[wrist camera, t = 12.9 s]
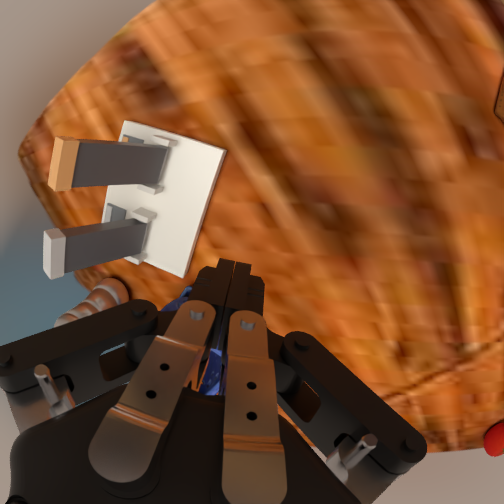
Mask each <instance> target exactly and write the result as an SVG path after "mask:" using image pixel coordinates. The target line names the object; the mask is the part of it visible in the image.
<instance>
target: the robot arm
mask: <svg viewBox="0 0 504 504" xmlns="http://www.w3.org/2000/svg"><path fill="white" fill-rule="evenodd" d="M234 264H235V261H232V260H227V259H222V258H220V259H219V261H218V264H217V267H216V268H214V267H209V266H206V267H204V268H203V269H201V270H200V271H199V274H198V276H197V278H196V280H195V283H194V285H193V287H192V290H191V292H190V294H189V297H188V299H187V301H186V302H185V303H183V304H182V305H181V306H180V308H179V309H177V310H174V311H158V310H157V308H156V306H155V305H154V304H153V303H151V302H149V301H147V300H142V299H136V300H131V301H128V302H125V303H123V304H120V305H117V306H114V307H111V308H108V309H106V310H103V311H100V312H97V313H94V314H91V315H89V316H86V317H83V318H80V319H77V320H74V321H72V322H69V323H66V324H63V325H60V326H57V327H54V328H52V329H49V330H46V331H43V332H40V333H37V334H34V335H32V336H29V337H26V338H23V339H20V340H17V341H14V342H11V343H9V344H6V345H3V346H0V387H1V389H2V390H3V392H4V393H5V395H6V396H7V398H8V402H9V405H10V408H11V411H12V413H13V416H14V419H15V422H16V424H17V427H18V429H19V432H20V435H19V436H18V437H17V439H16V440H15V442H14V444H13V446H12V449H11V453H10V468H11V487H10V494H9V497H8V500H7V502H6V503H5V504H372V503H373V502H374V501H375V500H376V499H377V498H378V497H379V496H380V495H381V493H383V492H384V491H385V490H386V489H387V487H388V486H390V485H391V483H392V482H393V481H395V480H396V479H398V478H399V477H401V476H402V475H404V474H405V473H406V472H408V471H409V470H410V468H411V467H413V466H414V465H415V464H417V463H418V462H420V461H421V460H422V459H423V458H424V457H425V455H426V453H427V443H426V441H425V439H424V437H423V436H422V435H421V434H420V433H419V432H418V431H417V430H416V429H415V428H413V427H412V426H411V425H410V424H409V423H408V422H407V421H406V420H404V419H403V418H402V417H401V416H400V415H399V414H398V413H397V412H395V411H394V410H393V409H392V408H391V407H390V406H389V405H388V404H386V403H385V402H384V401H383V400H382V399H381V398H380V397H379V396H378V395H376V394H375V393H374V392H373V391H372V390H371V389H370V388H369V387H368V386H366V385H365V384H364V383H363V382H362V381H361V380H360V379H359V378H358V377H357V376H355V375H354V374H353V373H352V372H351V371H350V370H349V369H348V368H347V367H346V366H345V365H343V364H342V363H341V362H340V361H339V360H338V359H337V358H336V357H335V356H334V355H333V354H331V353H330V352H329V351H328V350H327V349H326V348H325V347H324V346H323V345H322V344H321V343H320V342H319V341H317V340H316V339H315V338H314V337H313V336H311V335H310V334H307V333H305V332H300V331H294V332H290V333H288V334H287V335H286V336H285V337H282V336H280V335H278V334H275V333H273V332H272V331H270V330H269V329H268V328H267V326H266V321H265V320H264V318H263V303H264V286H265V284H264V282H263V280H262V279H261V277H258V276H253V275H250V271H251V264H246V263H241V262H236V265H235V269H234ZM233 270H234V273H233ZM232 275H233V277H232ZM222 322H223V323H222ZM221 327H222V329H221ZM220 331H221V334H220ZM219 335H220V340H219ZM218 340H219V346H218V350H221V351H222V354H221V362H222V363H221V371H220V382H219V393H218V395H204V394H201V393H199V392H198V391H199V388H200V385H201V382H202V380H203V377H204V374H205V371H206V368H207V366H208V362H209V355H210V351H211V348H212V349H216V348H217V344H218ZM123 343H125V346H123V347H120V348H118V349H115V350H113V351H111V352H108V353H106V354H103V355H101V353H103V352H104V351H105V350H108V349H110V348H113V347H115V346H118V345H120V344H123ZM100 355H101V356H100ZM129 381H130V382H129ZM304 381H305V382H306V383H307V384H308V385H309V386H310V387H311V388H312V389H313V390H314V391H315V392H316V393H315V392H314V391H313V390H312V389H311V388H310V387H309V386H308V385H307V384H306V383H305V382H304ZM126 382H129V383H128V384H124V383H126ZM122 384H124V385H122ZM120 385H121V386H120ZM100 394H101V395H100ZM98 395H99V396H98ZM96 396H97V397H96ZM94 397H95V398H94ZM92 398H93V399H92ZM89 399H91V400H89ZM87 400H89V401H87ZM85 401H87V402H85ZM82 402H85V403H83V404H81V405H79V406H77V407H75V405H78V404H80V403H82ZM277 403H278V405H279V406H280V407H281V408H282V409H283V410H284V412H285V413H286V414H287V415H288V416H289V417H290V418H291V419H292V421H293V422H294V423H295V424H296V425H297V426H298V427H299V428H300V430H301V431H302V432H303V433H304V434H305V435H306V436H307V437H308V438H309V439H310V440H311V442H312V443H313V444H314V445H315V446H316V447H317V448H318V449H319V450H320V451H321V452H322V453H323V454H324V455H325V456H326V457H327V460H326V464H325V463H324V462H323V461H322V460H321V458H320V457H319V456H318V455H317V454H316V453H315V452H314V450H313V449H312V448H311V447H310V446H309V445H308V443H307V442H306V441H305V440H304V439H303V438H302V436H301V435H300V434H299V433H298V432H297V430H296V429H295V428H294V427H293V426H292V425H291V424H290V423H289V422H288V421H287V420H286V419H285V418H284V417H282V416H281V415H279V414H278V407H277Z"/></svg>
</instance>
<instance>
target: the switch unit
mask: <svg viewBox="0 0 504 504" xmlns="http://www.w3.org/2000/svg"><path fill="white" fill-rule="evenodd" d="M119 142H131V143H142V144H152V145H163V146H166V147H169V150H168V153H167V156H166V160H165V163H164V167H163V170H162V174H161V177H160V181H159V184H130V185H108V189H107V194H106V200H105V205H104V211H103V217H102V223H105V222H112V221H118V220H125V219H132V218H135V219H137V220H140V221H142V222H145V223H149V224H148V228H147V232H146V237H145V241H144V246H143V251H142V253H140V254H136V255H132V256H128V257H124V259H126V260H128V261H131V262H133V263H135V264H137V265H139V264H140V263H141V262H142V261H145V262H147V263H149V264H151V265H154V266H156V267H158V268H160V269H163V270H165V271H167V272H170V273H172V274H174V275H177V276H179V277H181V278H183V277H184V276H185V275H186V274H187V272H188V268H189V265H190V262H191V258H192V255H193V252H194V248H195V245H196V242H197V238H198V235H199V232H200V229H201V226H202V223H203V219H204V216H205V213H206V210H207V207H208V204H209V201H210V198H211V195H212V192H213V189H214V186H215V183H216V180H217V177H218V174H219V171H220V169H221V166H222V163H223V160H224V157H225V154H226V152H227V150H225V149H222V148H219V147H216V146H213V145H210V144H207V143H204V142H201V141H198V140H195V139H192V138H189V137H186V136H182V135H179V134H176V133H173V132H169V131H166V130H162V129H159V128H155V127H152V126H148V125H145V124H141V123H137V122H134V121H126V120H124V124H123V127H122V131H121V134H120V138H119Z"/></svg>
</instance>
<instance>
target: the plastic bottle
mask: <svg viewBox="0 0 504 504" xmlns="http://www.w3.org/2000/svg"><path fill="white" fill-rule="evenodd" d="M128 301H129V295H128V291H127V289H126V287H125V286H124V284H123V283H122V282H120V281H119V280H117V279H114V278H106V279H103V280H101V281H100V282H99V283H98V284H97V285H96V286H95V288H94V289H93V291H92V292H91V293H90V294H89V295H88V296H87V297H86V299H84V300H83V301H82V302H81V303H80V304H78V305H77V306H76V307H74V308H72V309H71V310H69V311H68V312H66V313H64V314H62V315H61V316H60V317H59V318H58V319H57V321H56V323H55V325H54V327H57V326H60V325H63V324H66V323H69V322H72V321H74V320H77V319H80V318H83V317H86V316H89V315H91V314H94V313H97V312H100V311H103V310H106V309H108V308H111V307H114V306H117V305H120V304H123V303H125V302H128Z"/></svg>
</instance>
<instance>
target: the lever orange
mask: <svg viewBox="0 0 504 504" xmlns="http://www.w3.org/2000/svg"><path fill="white" fill-rule="evenodd" d="M168 150H169V147H166V146H163V145H152V144H142V143H131V142H119V141H105V140H88V139H75V138H73V137H65V136H56V138H55V143H54V149H53V154H52V160H51V166H50V173H49V180H48V185H49V186H50V187H51V188H52V189H53V190H54V191H66V190H71V188H74V187H89V186H107V185H130V184H159V181H160V177H161V174H162V170H163V167H164V163H165V160H166V156H167V153H168Z"/></svg>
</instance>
